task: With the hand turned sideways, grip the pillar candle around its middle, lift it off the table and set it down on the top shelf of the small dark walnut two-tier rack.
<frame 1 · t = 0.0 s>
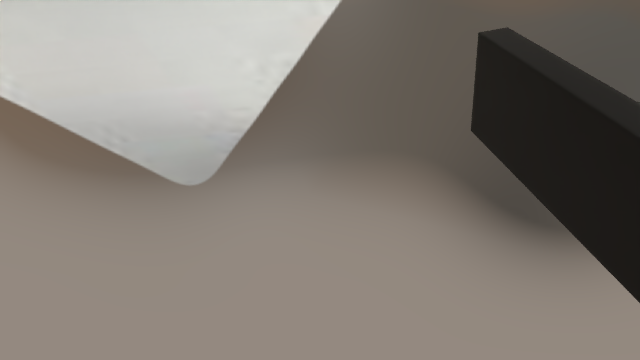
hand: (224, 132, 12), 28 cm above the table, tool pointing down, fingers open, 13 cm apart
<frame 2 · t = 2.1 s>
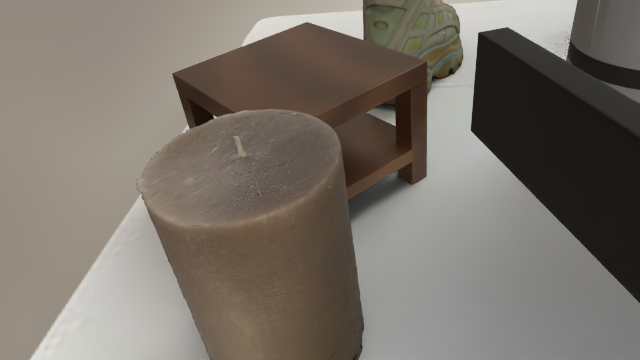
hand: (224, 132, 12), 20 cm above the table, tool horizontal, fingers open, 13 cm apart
pillar candle: (287, 337, 32), on the table
shelf rack: (310, 176, 45), on the table
sneaker: (414, 74, 60), on the table
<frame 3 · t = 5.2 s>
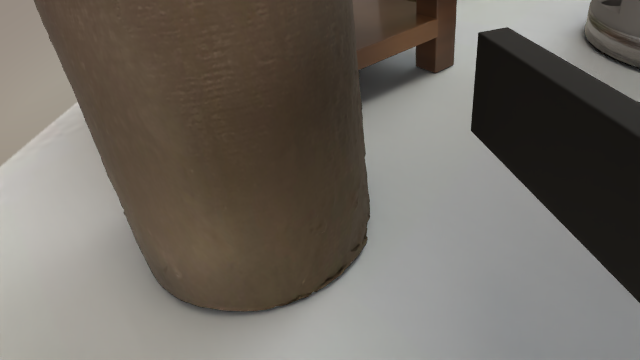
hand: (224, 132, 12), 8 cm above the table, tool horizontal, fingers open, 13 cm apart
pillar candle: (258, 230, 22), on the table
shelf rack: (305, 69, 35), on the table
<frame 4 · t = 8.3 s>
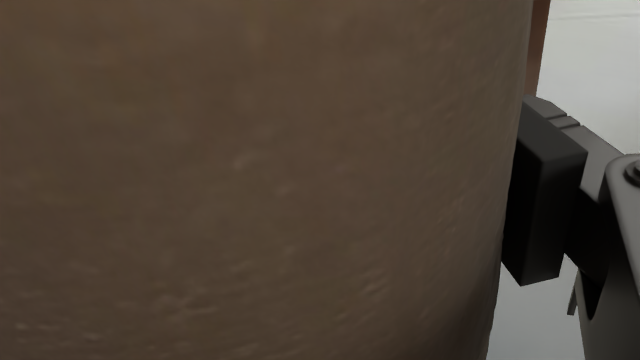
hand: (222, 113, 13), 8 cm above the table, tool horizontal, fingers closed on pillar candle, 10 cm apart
shelf rack: (334, 131, 28), on the table
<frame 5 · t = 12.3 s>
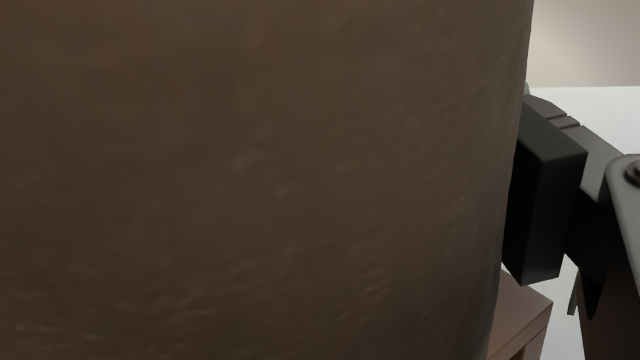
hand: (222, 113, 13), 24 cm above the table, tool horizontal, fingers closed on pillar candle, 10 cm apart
when the fingers open (18 cm above the table, at t = 16.5 s): pillar candle stays where it is, resting on shelf rack.
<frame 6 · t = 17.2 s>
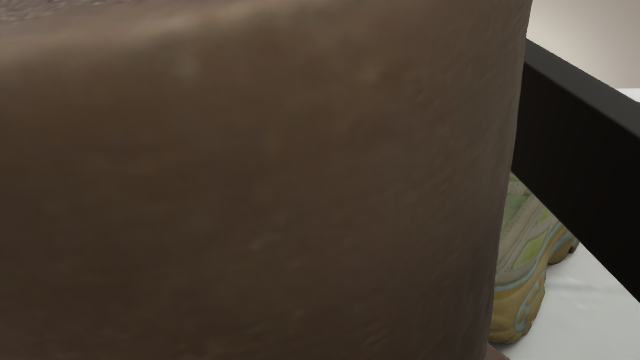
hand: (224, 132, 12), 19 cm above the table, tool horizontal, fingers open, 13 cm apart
sneaker: (501, 244, 35), on the table
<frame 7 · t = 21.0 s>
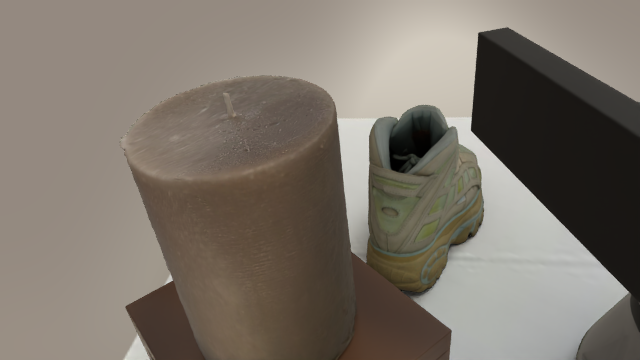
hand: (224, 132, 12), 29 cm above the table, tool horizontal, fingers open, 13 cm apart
pillar candle: (276, 319, 30), point 10 cm above the table, touching shelf rack
sneaker: (427, 231, 51), on the table
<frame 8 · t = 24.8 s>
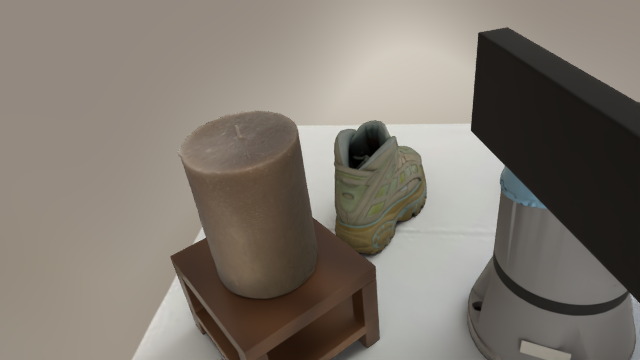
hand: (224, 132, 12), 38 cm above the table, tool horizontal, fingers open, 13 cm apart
pillar candle: (267, 262, 48), point 10 cm above the table, touching shelf rack
shelf rack: (284, 331, 54), on the table
sneaker: (383, 212, 69), on the table
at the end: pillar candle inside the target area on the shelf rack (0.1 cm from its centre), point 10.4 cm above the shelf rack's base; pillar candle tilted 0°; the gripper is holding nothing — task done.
